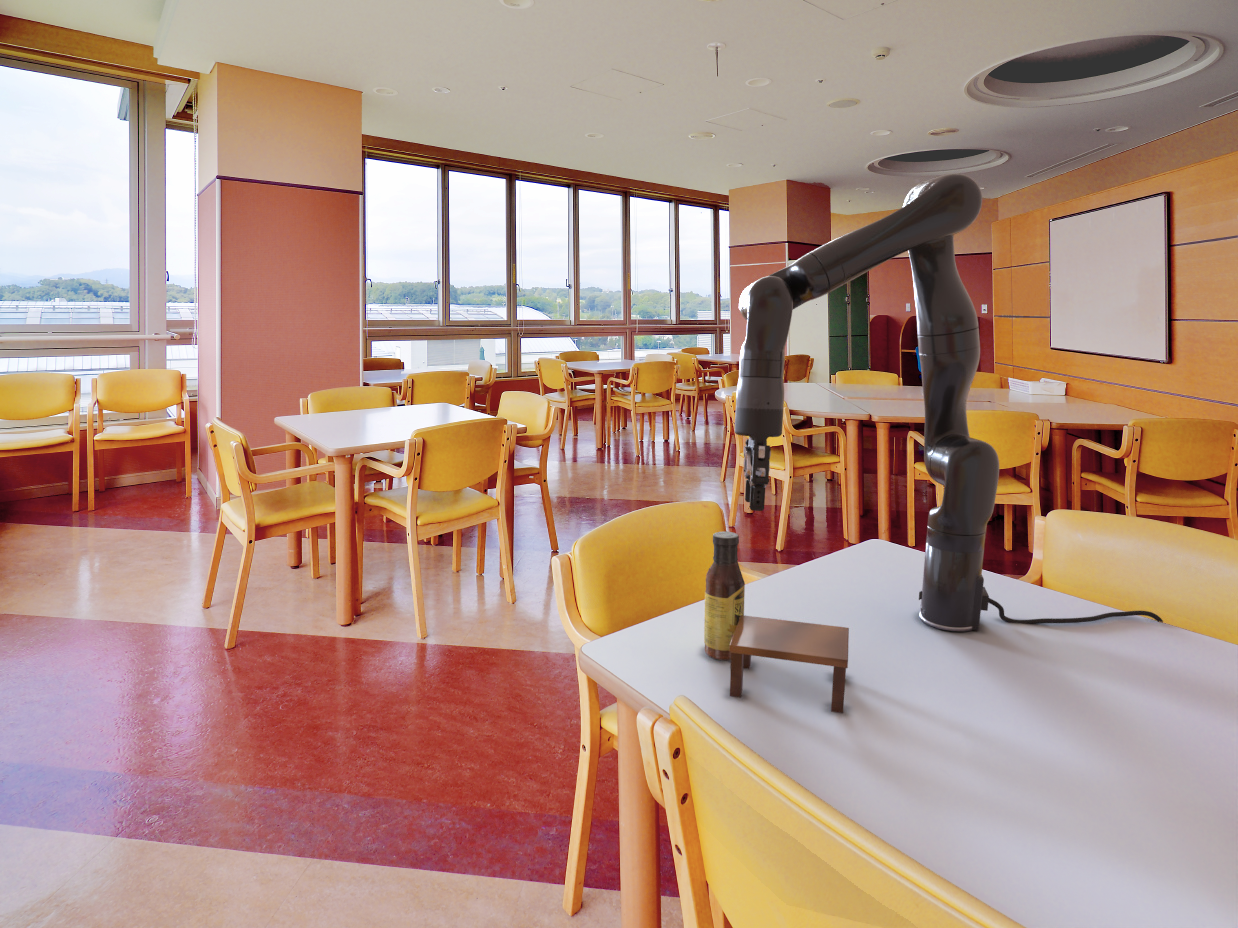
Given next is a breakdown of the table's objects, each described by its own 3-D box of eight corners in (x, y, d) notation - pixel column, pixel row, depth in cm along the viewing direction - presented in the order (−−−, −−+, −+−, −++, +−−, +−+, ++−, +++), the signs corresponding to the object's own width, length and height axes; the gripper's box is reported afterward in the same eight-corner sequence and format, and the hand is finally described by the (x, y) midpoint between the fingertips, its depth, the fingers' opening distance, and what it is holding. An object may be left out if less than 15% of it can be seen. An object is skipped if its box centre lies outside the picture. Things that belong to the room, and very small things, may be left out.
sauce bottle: (742, 663, 114) (745, 542, 111) (702, 660, 116) (704, 540, 112) (743, 645, 121) (747, 530, 117) (705, 642, 122) (707, 528, 118)
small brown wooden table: (845, 676, 110) (848, 627, 109) (844, 714, 100) (848, 660, 98) (739, 662, 115) (741, 614, 113) (728, 696, 105) (729, 644, 103)
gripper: (789, 408, 109) (783, 514, 111) (777, 405, 124) (771, 500, 125) (739, 406, 110) (733, 512, 112) (732, 404, 124) (727, 498, 126)
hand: (753, 506), depth 119 cm, fingers open, 8 cm apart
